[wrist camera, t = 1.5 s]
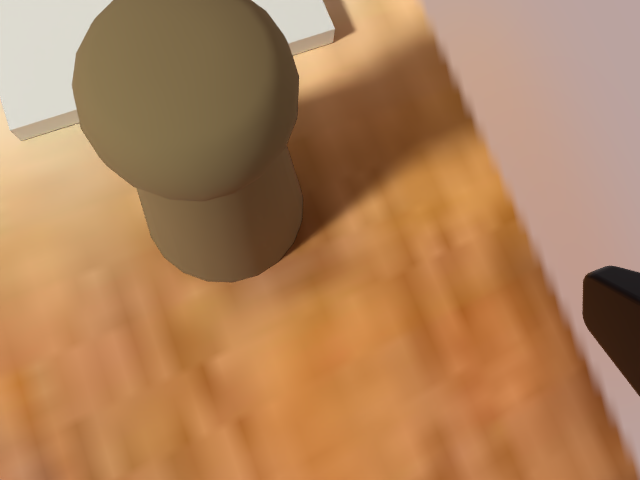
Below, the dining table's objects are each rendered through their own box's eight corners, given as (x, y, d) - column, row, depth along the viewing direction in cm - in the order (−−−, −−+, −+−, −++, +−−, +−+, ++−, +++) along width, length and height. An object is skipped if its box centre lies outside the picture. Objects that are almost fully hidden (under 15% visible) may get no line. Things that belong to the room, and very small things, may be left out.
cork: (293, 125, 24) (303, -80, 14) (312, 272, 23) (339, 173, 12) (140, 140, 24) (25, -61, 13) (150, 291, 22) (31, 204, 12)
